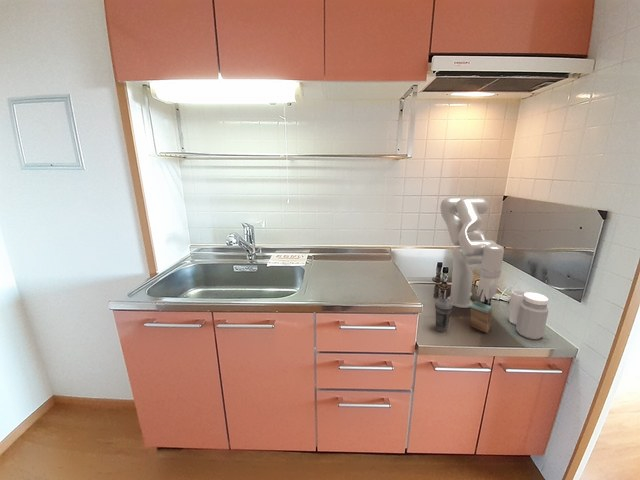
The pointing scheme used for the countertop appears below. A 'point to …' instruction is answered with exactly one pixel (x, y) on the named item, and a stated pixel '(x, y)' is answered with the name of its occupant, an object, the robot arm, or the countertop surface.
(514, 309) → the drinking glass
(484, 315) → the wooden block
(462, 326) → the countertop surface
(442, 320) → the beverage cup
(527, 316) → the jar
